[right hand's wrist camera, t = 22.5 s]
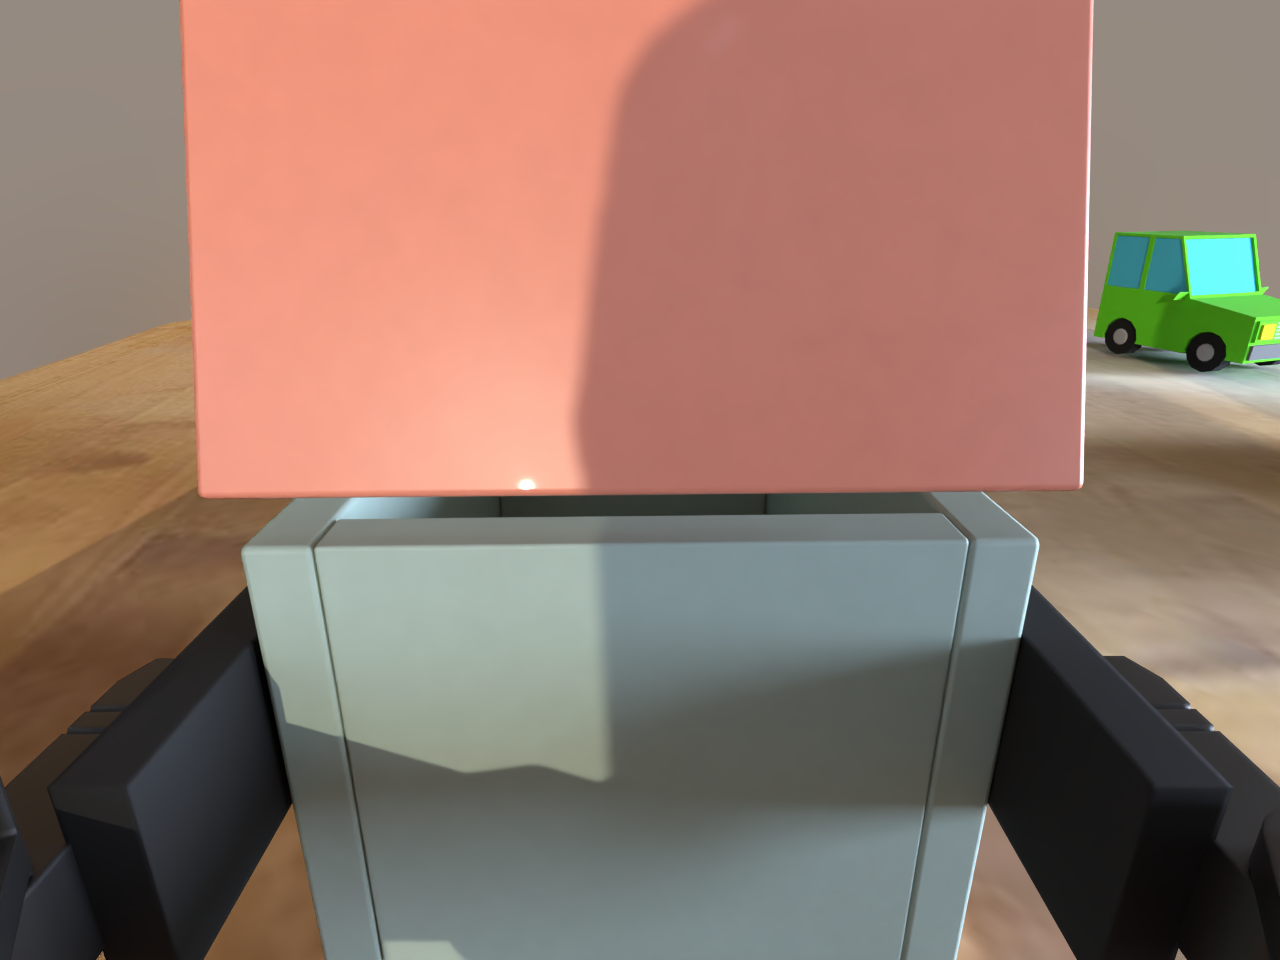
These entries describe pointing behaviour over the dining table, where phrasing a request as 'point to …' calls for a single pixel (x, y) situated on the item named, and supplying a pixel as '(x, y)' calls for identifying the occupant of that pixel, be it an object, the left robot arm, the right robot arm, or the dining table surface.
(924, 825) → the chest
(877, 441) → the lid
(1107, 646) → the dining table surface
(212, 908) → the right robot arm
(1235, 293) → the toy car
